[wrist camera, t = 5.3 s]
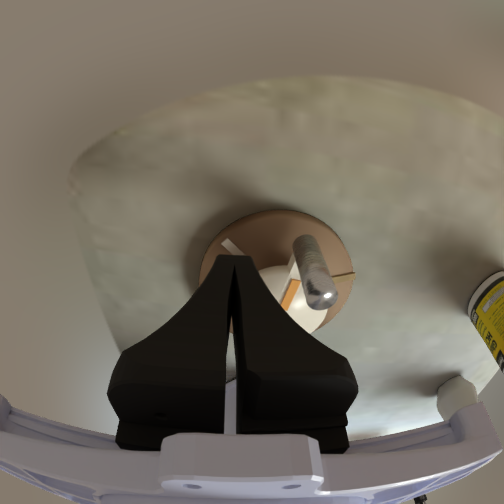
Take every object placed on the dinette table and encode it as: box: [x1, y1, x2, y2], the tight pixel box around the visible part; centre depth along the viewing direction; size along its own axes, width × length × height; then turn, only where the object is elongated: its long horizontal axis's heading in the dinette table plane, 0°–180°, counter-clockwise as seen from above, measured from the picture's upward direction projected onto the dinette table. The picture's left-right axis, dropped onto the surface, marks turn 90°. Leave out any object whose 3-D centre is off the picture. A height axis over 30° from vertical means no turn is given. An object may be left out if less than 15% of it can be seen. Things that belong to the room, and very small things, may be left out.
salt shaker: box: [437, 376, 493, 467], centre depth 26 cm, size 6×6×13 cm
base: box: [199, 210, 355, 334], centre depth 20 cm, size 10×10×2 cm
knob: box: [258, 234, 338, 334], centre depth 16 cm, size 8×6×4 cm
